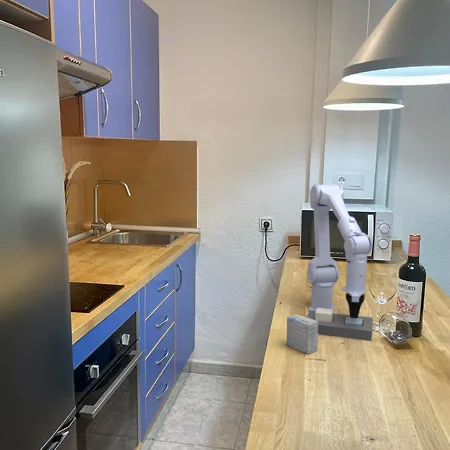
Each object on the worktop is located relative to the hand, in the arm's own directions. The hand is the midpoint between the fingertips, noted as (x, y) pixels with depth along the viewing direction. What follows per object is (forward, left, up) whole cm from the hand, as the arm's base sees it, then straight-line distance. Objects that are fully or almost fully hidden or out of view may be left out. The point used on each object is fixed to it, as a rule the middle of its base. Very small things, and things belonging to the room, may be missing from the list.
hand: (353, 317), depth 144 cm
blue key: (0, 0, -4) cm, 4 cm away
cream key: (0, -9, -2) cm, 9 cm away
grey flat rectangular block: (0, -4, -4) cm, 6 cm away
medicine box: (+18, -13, -5) cm, 23 cm away
